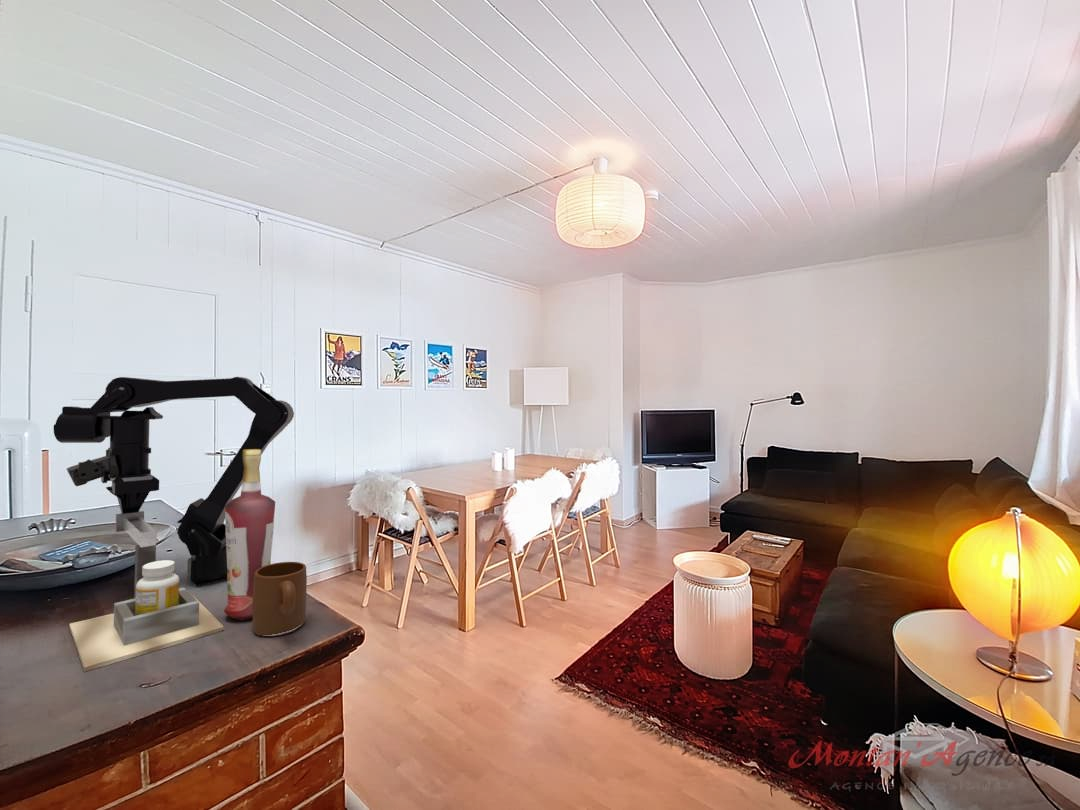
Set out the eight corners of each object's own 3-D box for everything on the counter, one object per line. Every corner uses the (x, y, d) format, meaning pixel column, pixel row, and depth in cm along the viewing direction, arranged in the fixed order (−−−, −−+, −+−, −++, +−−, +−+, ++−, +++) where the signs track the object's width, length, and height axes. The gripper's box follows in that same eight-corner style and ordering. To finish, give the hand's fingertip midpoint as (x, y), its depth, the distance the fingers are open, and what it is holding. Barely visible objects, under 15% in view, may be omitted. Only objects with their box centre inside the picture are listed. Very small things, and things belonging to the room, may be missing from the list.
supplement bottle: (138, 636, 71) (139, 572, 71) (131, 625, 75) (132, 564, 75) (182, 624, 76) (183, 564, 76) (173, 614, 79) (174, 556, 79)
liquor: (279, 614, 81) (283, 450, 81) (229, 628, 76) (233, 453, 76) (264, 601, 86) (268, 447, 86) (217, 613, 81) (221, 449, 81)
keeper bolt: (142, 527, 92) (143, 510, 92) (163, 546, 81) (163, 527, 81) (115, 531, 89) (115, 514, 89) (133, 551, 78) (133, 531, 78)
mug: (316, 641, 73) (318, 579, 73) (259, 656, 68) (261, 590, 68) (300, 612, 82) (301, 558, 82) (249, 624, 78) (250, 566, 78)
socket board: (192, 597, 87) (193, 536, 87) (223, 630, 75) (225, 559, 75) (69, 627, 75) (71, 555, 75) (84, 671, 63) (86, 586, 63)
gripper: (66, 441, 92) (65, 522, 92) (76, 449, 79) (74, 542, 79) (141, 438, 100) (139, 513, 100) (160, 445, 88) (158, 530, 88)
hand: (128, 523), depth 92 cm, fingers closed
